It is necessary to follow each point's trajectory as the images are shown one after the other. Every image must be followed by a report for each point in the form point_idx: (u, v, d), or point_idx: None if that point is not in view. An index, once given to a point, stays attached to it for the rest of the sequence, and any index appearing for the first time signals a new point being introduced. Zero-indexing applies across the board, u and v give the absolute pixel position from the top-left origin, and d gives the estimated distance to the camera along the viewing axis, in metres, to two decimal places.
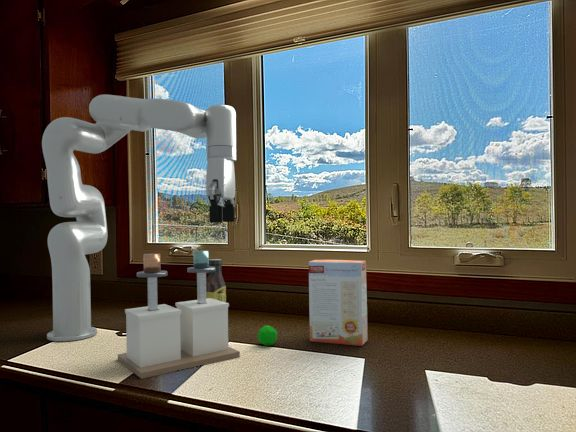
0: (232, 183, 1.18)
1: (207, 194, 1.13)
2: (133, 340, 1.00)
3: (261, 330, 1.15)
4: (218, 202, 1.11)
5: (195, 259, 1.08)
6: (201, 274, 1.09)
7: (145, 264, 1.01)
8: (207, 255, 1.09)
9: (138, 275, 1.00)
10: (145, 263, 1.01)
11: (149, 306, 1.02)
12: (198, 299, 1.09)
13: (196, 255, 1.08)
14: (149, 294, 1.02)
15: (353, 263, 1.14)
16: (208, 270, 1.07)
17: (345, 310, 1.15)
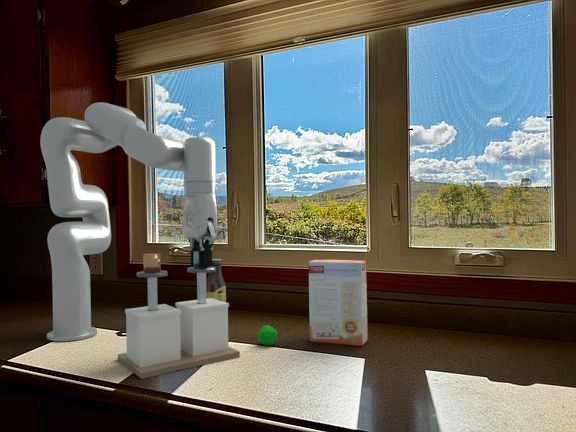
0: None
1: (201, 233, 1.05)
2: (133, 340, 1.00)
3: (261, 330, 1.15)
4: (211, 248, 1.08)
5: (195, 259, 1.08)
6: (201, 274, 1.09)
7: (145, 264, 1.01)
8: None
9: (138, 275, 1.00)
10: (145, 263, 1.01)
11: (149, 306, 1.02)
12: (198, 299, 1.09)
13: (196, 255, 1.08)
14: (149, 294, 1.02)
15: (353, 263, 1.14)
16: (208, 270, 1.07)
17: (345, 310, 1.15)
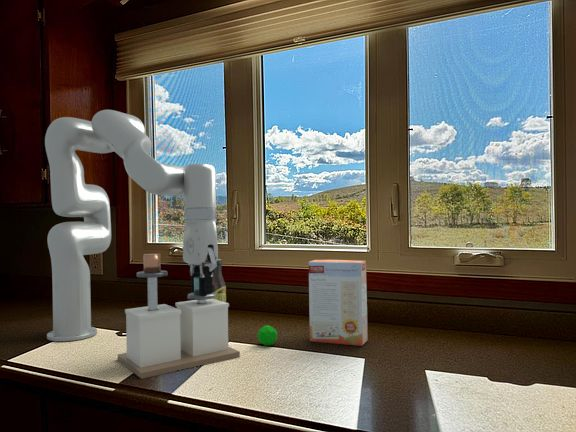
0: None
1: (202, 260, 1.05)
2: (133, 340, 1.00)
3: (261, 330, 1.15)
4: (212, 274, 1.08)
5: (195, 286, 1.08)
6: (201, 300, 1.09)
7: (145, 264, 1.01)
8: None
9: (138, 275, 1.00)
10: (145, 263, 1.01)
11: (149, 306, 1.02)
12: None
13: (197, 282, 1.08)
14: (149, 294, 1.02)
15: (353, 263, 1.14)
16: (208, 297, 1.07)
17: (345, 310, 1.15)
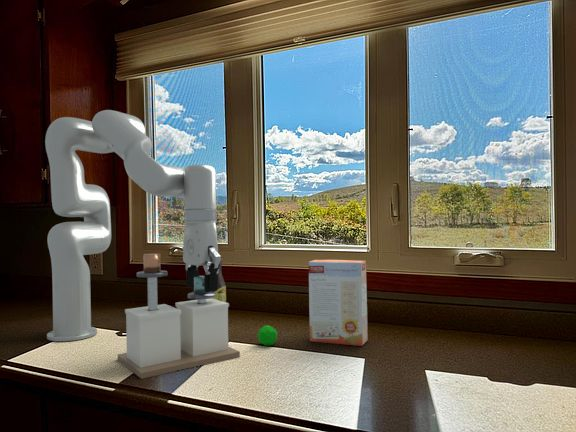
0: None
1: (202, 262, 1.05)
2: (133, 340, 1.00)
3: (261, 330, 1.15)
4: None
5: (195, 285, 1.08)
6: (201, 300, 1.09)
7: (145, 264, 1.01)
8: None
9: (138, 275, 1.00)
10: (145, 263, 1.01)
11: (149, 306, 1.02)
12: None
13: (197, 281, 1.08)
14: (149, 294, 1.02)
15: (353, 263, 1.14)
16: (208, 296, 1.07)
17: (345, 310, 1.15)
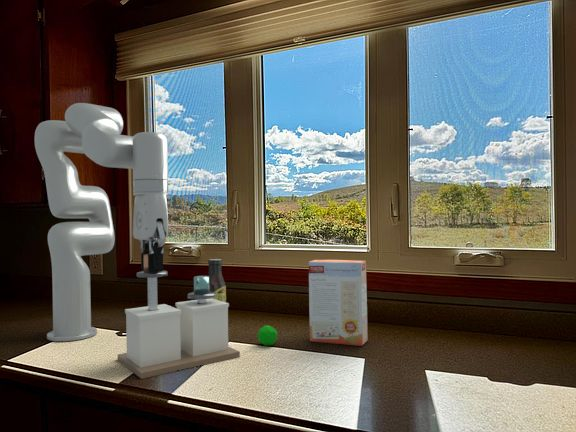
0: None
1: (150, 235, 0.97)
2: (133, 340, 1.00)
3: (261, 330, 1.15)
4: (162, 251, 1.01)
5: (195, 285, 1.08)
6: (201, 300, 1.09)
7: (145, 264, 1.01)
8: (207, 281, 1.09)
9: (138, 275, 1.00)
10: (145, 263, 1.01)
11: (149, 306, 1.02)
12: None
13: (197, 281, 1.08)
14: (149, 294, 1.02)
15: (353, 263, 1.14)
16: (208, 296, 1.07)
17: (345, 310, 1.15)
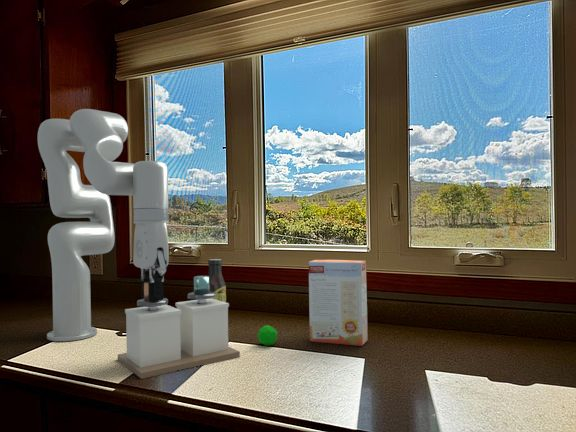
0: None
1: (150, 265, 0.97)
2: (133, 340, 1.00)
3: (261, 330, 1.15)
4: (162, 279, 1.01)
5: (195, 285, 1.08)
6: (201, 300, 1.09)
7: (145, 293, 1.01)
8: (207, 281, 1.09)
9: (138, 304, 1.00)
10: (145, 292, 1.01)
11: None
12: None
13: (197, 281, 1.08)
14: None
15: (353, 263, 1.14)
16: (208, 296, 1.07)
17: (345, 310, 1.15)
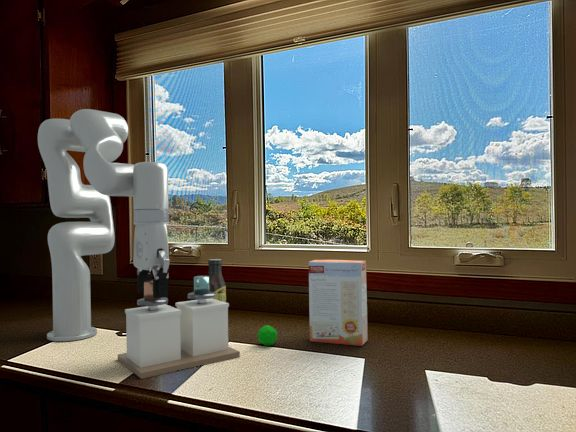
0: None
1: (150, 266, 0.97)
2: (133, 340, 1.00)
3: (261, 330, 1.15)
4: (167, 275, 0.98)
5: (195, 285, 1.08)
6: (201, 300, 1.09)
7: (145, 292, 1.01)
8: (207, 281, 1.09)
9: (138, 303, 1.00)
10: (145, 291, 1.01)
11: None
12: None
13: (197, 281, 1.08)
14: None
15: (353, 263, 1.14)
16: (208, 296, 1.07)
17: (345, 310, 1.15)
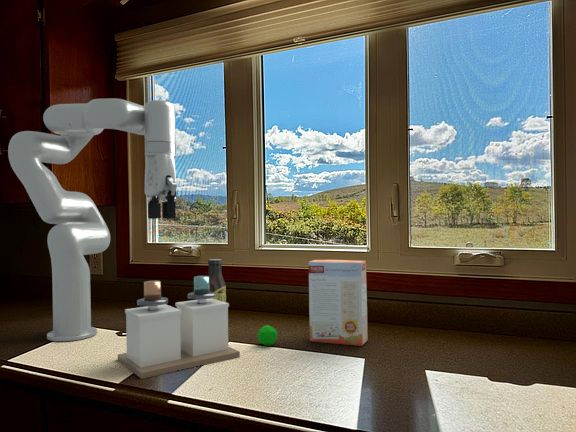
0: None
1: (160, 190, 1.11)
2: (133, 340, 1.00)
3: (261, 330, 1.15)
4: (174, 198, 1.12)
5: (195, 285, 1.08)
6: (201, 300, 1.09)
7: (145, 292, 1.01)
8: (207, 281, 1.09)
9: (138, 303, 1.00)
10: (145, 291, 1.01)
11: None
12: None
13: (197, 281, 1.08)
14: None
15: (353, 263, 1.14)
16: (208, 296, 1.07)
17: (345, 310, 1.15)
